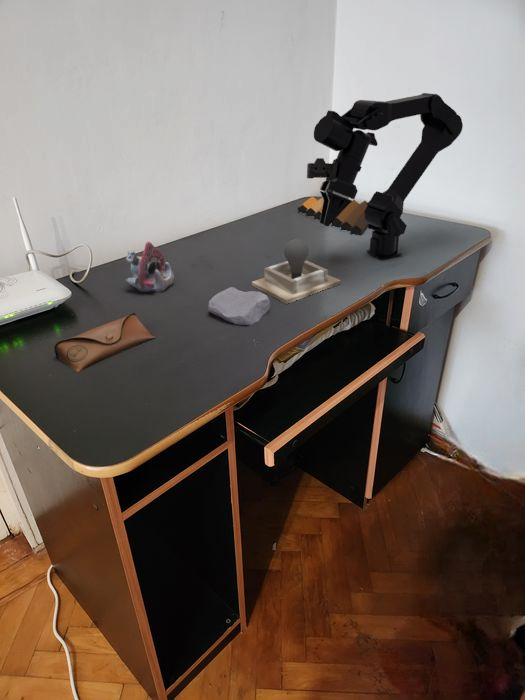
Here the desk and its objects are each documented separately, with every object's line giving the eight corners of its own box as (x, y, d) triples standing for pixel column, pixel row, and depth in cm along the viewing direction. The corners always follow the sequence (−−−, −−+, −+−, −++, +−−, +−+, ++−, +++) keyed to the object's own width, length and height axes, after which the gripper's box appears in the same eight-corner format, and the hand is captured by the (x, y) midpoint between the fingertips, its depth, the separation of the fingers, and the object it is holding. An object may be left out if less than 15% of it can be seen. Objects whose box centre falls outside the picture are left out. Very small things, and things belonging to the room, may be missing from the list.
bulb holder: (304, 268, 133) (304, 252, 131) (340, 284, 124) (340, 268, 122) (252, 285, 125) (251, 269, 123) (286, 304, 116) (286, 287, 114)
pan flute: (361, 237, 153) (380, 212, 172) (362, 225, 151) (381, 201, 170) (280, 229, 161) (307, 206, 181) (280, 218, 160) (307, 195, 179)
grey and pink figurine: (166, 289, 120) (131, 246, 117) (137, 311, 126) (104, 270, 123) (189, 270, 129) (157, 229, 126) (161, 291, 135) (130, 253, 132)
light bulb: (303, 274, 127) (303, 234, 122) (312, 283, 123) (312, 241, 118) (281, 278, 126) (280, 237, 121) (289, 287, 121) (288, 245, 116)
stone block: (251, 336, 109) (274, 307, 115) (247, 317, 106) (270, 289, 112) (204, 325, 115) (228, 299, 121) (199, 307, 112) (224, 281, 118)
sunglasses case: (76, 373, 96) (60, 339, 95) (65, 377, 101) (50, 345, 100) (159, 336, 106) (145, 305, 105) (145, 341, 112) (131, 312, 111)
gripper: (313, 148, 129) (289, 210, 133) (321, 141, 111) (293, 213, 115) (355, 165, 130) (331, 227, 134) (370, 161, 112) (341, 232, 116)
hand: (323, 224), depth 125 cm, fingers open, 9 cm apart
